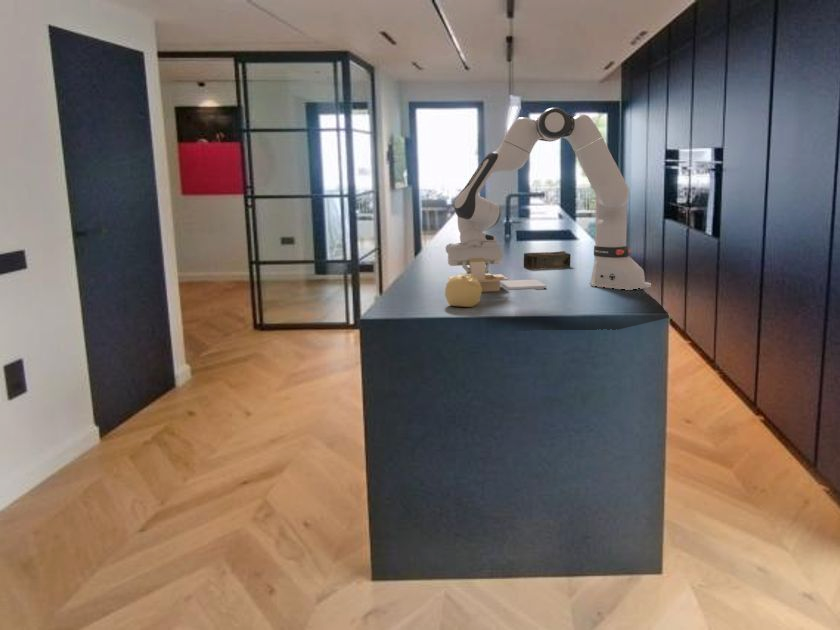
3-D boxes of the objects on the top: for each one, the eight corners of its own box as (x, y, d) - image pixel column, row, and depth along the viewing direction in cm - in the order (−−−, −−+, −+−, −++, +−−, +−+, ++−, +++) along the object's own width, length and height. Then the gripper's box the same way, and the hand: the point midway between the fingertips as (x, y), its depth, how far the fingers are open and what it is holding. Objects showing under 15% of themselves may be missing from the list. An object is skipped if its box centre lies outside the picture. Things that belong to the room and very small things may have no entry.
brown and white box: (469, 287, 276) (469, 258, 273) (483, 287, 276) (483, 257, 274) (471, 290, 271) (471, 259, 269) (485, 289, 272) (485, 259, 269)
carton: (446, 287, 281) (446, 275, 280) (499, 284, 283) (499, 273, 282) (453, 295, 264) (453, 282, 264) (509, 292, 266) (509, 280, 266)
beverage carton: (571, 267, 322) (571, 252, 320) (528, 270, 318) (528, 254, 317) (564, 265, 330) (564, 250, 328) (522, 267, 326) (522, 252, 325)
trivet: (500, 284, 285) (500, 280, 285) (536, 282, 286) (536, 279, 286) (508, 290, 271) (508, 287, 271) (546, 288, 273) (546, 285, 272)
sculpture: (484, 308, 241) (484, 275, 239) (447, 310, 240) (447, 276, 238) (479, 301, 252) (479, 270, 250) (443, 303, 251) (443, 271, 249)
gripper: (445, 238, 276) (450, 268, 268) (500, 236, 278) (506, 266, 270) (444, 249, 281) (448, 279, 273) (498, 247, 283) (503, 276, 276)
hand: (477, 272), depth 272 cm, fingers closed on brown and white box, 5 cm apart
